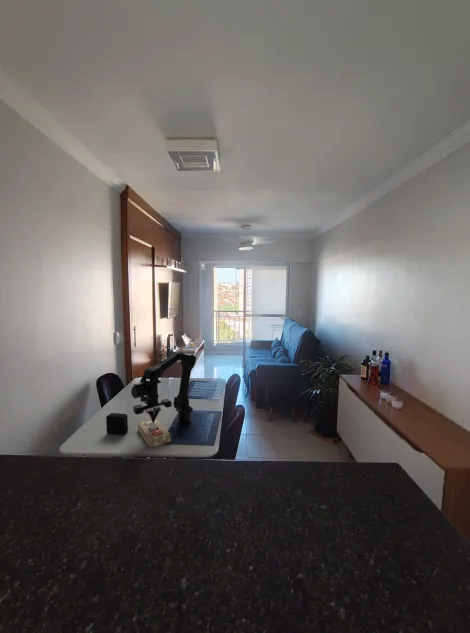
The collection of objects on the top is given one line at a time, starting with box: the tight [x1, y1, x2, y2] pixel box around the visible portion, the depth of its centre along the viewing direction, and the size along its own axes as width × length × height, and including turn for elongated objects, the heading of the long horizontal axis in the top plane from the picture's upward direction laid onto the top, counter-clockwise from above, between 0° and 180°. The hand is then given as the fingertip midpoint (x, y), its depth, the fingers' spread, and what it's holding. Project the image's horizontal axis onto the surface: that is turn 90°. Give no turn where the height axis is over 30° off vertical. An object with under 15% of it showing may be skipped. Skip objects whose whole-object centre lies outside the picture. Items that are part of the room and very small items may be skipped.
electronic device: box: [105, 412, 129, 436], centre depth 158 cm, size 4×10×10 cm, turn 79°
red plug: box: [153, 429, 162, 437], centre depth 149 cm, size 4×4×4 cm
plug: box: [149, 421, 157, 431], centre depth 154 cm, size 4×4×4 cm
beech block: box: [137, 418, 171, 448], centre depth 154 cm, size 10×22×4 cm, turn 33°
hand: (153, 422), depth 154 cm, fingers closed
